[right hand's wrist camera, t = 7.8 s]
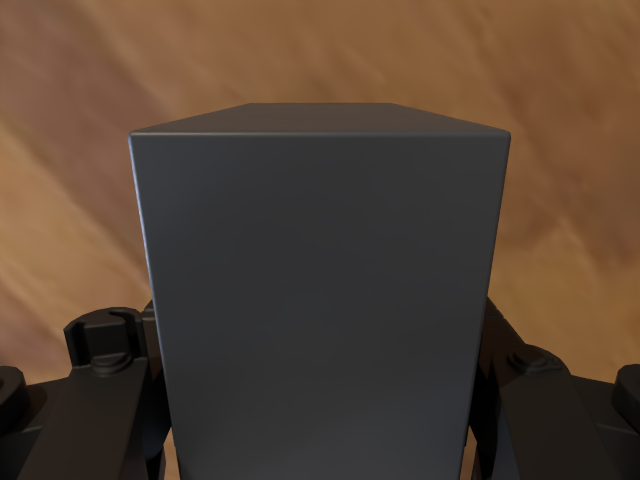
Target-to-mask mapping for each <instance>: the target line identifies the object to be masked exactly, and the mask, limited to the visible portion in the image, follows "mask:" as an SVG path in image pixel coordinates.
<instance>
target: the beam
mask: <svg viewBox="0 0 640 480" xmlns="http://www.w3.org/2000/svg"><path fill="white" fill-rule="evenodd" d="M510 142H511V135H510V132H508V131H506V130H502V129H498V128H494V127H489V126H485V125H481V124H477V123H473V122H468V121H464V120H460V119H456V118H452V117H447V116H443V115H439V114H435V113H431V112H426V111H422V110H418V109H414V108H409V107H405V106H401V105H397V104H393V103H249V104H245V105H240V106H236V107H232V108H228V109H223V110H219V111H215V112H211V113H206V114H202V115H198V116H194V117H189V118H185V119H181V120H177V121H172V122H168V123H164V124H160V125H155V126H151V127H147V128H143V129H138V130H134V131H132V132H130V133H129V134H128V143H129V149H130V156H131V162H132V169H133V175H134V182H135V188H136V195H137V201H138V208H139V214H140V221H141V227H142V234H143V240H144V247H145V253H146V260H147V266H148V273H149V279H150V286H151V292H152V299H153V305H154V312H155V318H156V325H157V331H158V338H159V344H160V351H161V357H162V364H163V370H164V377H165V383H166V390H167V396H168V403H169V409H170V416H171V422H172V429H173V435H174V442H175V448H176V455H177V461H178V468H179V474H180V480H460V474H461V467H462V460H463V454H464V447H465V440H466V434H467V427H468V420H469V414H470V407H471V401H472V394H473V387H474V381H475V374H476V367H477V361H478V354H479V347H480V341H481V334H482V327H483V321H484V314H485V308H486V301H487V294H488V288H489V281H490V274H491V268H492V261H493V254H494V248H495V241H496V234H497V228H498V221H499V215H500V208H501V201H502V195H503V188H504V181H505V175H506V168H507V161H508V155H509V148H510Z"/></svg>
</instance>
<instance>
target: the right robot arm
mask: <svg viewBox="0 0 640 480" xmlns="http://www.w3.org/2000/svg"><path fill="white" fill-rule="evenodd" d="M63 330H64V334H65V339H66V343H67V347H68V351H69V355H70V359H71V363H72V370H71V372H70V374H69V376H68V377H66V378H63V379H58V380H53V381H48V382H43V383H38V384H33V385H28V386H26V382H25V379H24V375H23V372H21V371H20V370H19V369H18V368H16V367H10V366H0V480H164V475H165V467H166V459H165V452H164V446H163V444H164V442H165V439H166V437H167V435H168V432H169V430H170V428H171V427H172V422H171V416H170V409H169V403H168V396H167V390H166V383H165V377H164V370H163V364H162V357H161V351H160V344H159V338H158V331H157V325H156V318H155V312H154V305H153V299H152V300H151V301H150V302H149V304H148V305H147V306H146V307H145V309H144V311H142V312H141V313H140V312H138V311H137V310H136V309H132V308H127V307H111V308H105V309H100V310H96V311H93V312H90V313H87V314H84V315H82V316H80V317H78V318H77V319H75V320H73V321H71V322H70V323H69V324H68V325H67V326H66V327H65V328H64V329H63ZM469 425H470V427H471V429H472V432H473V434H474V436H475V438H476V441H477V446H476V452H475V458H474V464H473V470H472V476H471V480H640V364H632V365H625V366H623V367H622V368H621V369H620V370H618V374H617V377H616V380H615V384H612V383H607V382H602V381H597V380H592V379H587V378H582V377H578V376H574V375H571V374H570V372H569V370H568V368H567V366H566V365H565V364H564V363H563V362H562V360H561V359H559V358H558V357H556V356H555V355H553V354H552V353H550V352H549V351H546V350H544V349H542V348H539V347H537V346H533V345H528V344H525V343H524V341H523V340H522V339H521V338H520V336H519V335H518V334H517V333H516V331H515V330H514V329H513V328H512V326H511V325H510V324H509V323H508V321H507V320H506V319H504V316H503V315H502V314H501V313H500V311H499V310H497V308H496V306H495V305H494V304H493V303H492V301H491V300H490V299H489V297H487V301H486V308H485V314H484V321H483V327H482V334H481V341H480V347H479V354H478V361H477V367H476V374H475V381H474V387H473V394H472V401H471V407H470V414H469V420H468V427H467V434H466V440H465V446H466V442H467V436H468V429H469ZM172 433H173V429H172ZM173 440H174V435H173ZM174 446H175V442H174Z"/></svg>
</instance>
